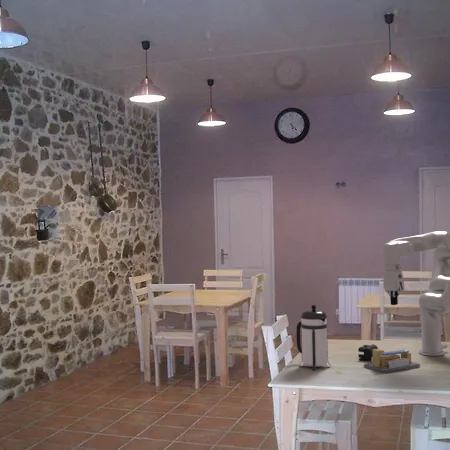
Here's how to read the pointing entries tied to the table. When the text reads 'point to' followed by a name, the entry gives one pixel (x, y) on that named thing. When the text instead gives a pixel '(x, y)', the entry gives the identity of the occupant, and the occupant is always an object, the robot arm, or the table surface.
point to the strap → (394, 352)
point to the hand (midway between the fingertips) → (394, 304)
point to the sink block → (390, 362)
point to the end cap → (366, 352)
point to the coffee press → (313, 338)
